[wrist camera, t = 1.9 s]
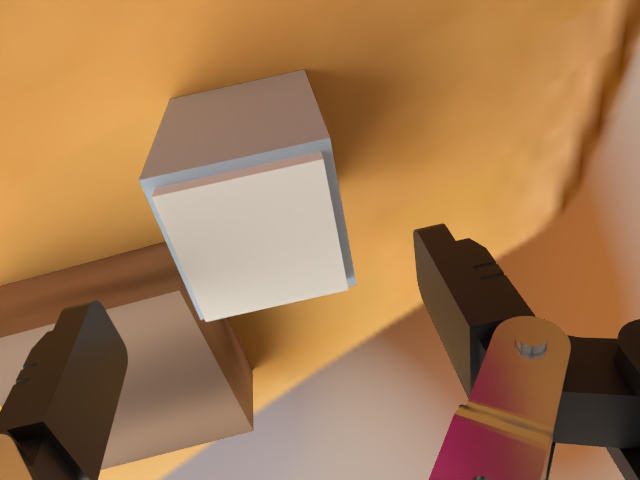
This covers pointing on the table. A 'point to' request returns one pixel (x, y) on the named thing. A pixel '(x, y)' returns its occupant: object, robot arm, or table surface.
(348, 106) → the table surface
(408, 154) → the table surface
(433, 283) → the robot arm
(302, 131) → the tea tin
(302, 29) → the table surface
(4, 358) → the walnut block
